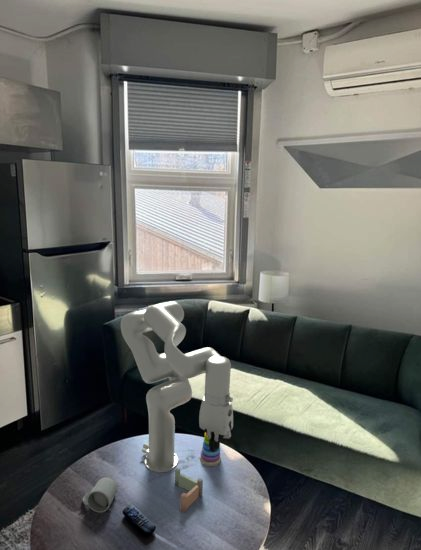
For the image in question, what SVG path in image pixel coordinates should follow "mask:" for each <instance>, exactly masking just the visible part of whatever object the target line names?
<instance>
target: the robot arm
mask: <svg viewBox="0 0 421 550" xmlns="http://www.w3.org/2000/svg"><path fill="white" fill-rule="evenodd" d="M184 317H185V311H184V309H183V307H182V305H181V304H180V303H179V302H177V301H171V300H170V301H167V302H166V301H165V302H160V303H156V304H153V305H152V304H151V306H149V307H147V308H145V309H140V310H134V311H131V312H128V313H127V314H125V315H124V316H123V317H122V319H121V320H120V331H121V335H122V337H123V339H124V341H125V343H126V344H127V345H128V348H129V349H130V350H131V353H132V356H133V358H134V360H135V363H136V366H137V368H138V371H139V373H140V376H141V379H142V380H143V382H144V383H146V384H155V383H158V382H160V381H163V380H166V379H169V381H165V382H163V383H160V384H158V385H156V386H153V387H152V388H150V389H149V390H148V391H147V393H146V395H145V396H146V397H145V401H146V405H147V412H148V443H147V442H144V444H143V445H142V449H141V452H142V453H143V454H145V455H146V456H145V457H144V465H145V467H146V468H147V470H149V471H150V472H152V473H157V474H158V473H159V474H161V473H162V474H163V473H167V472H170V471H172V470H175V469H176V468H177V465H178V463H179V457H178V455H177V453H176V452H175V439H176V438H175V433H176V431H175V430H176V425H175V424H176V421H175V416H174V415H173V414H172V413H171V412H170V411H171V410H172V409H175V408H177V407H179V406H181V405H184V404H186V403H188V402H189V401H190V400H191V399H192V397H193V391H192V385H191V384H190V383H191V382H190V381H189V379H193V378H194V377H197V376H200V375H203V374H205V376H204V377H205V378H204V396H203V397H202V401H201V403H200V409H199V414H198V415H199V416H198V424H199V428H200V429H201V430H203V431H204V433H205V432H206V433H207V435H208V438H209V446H210V449H209V450H210V451H212V452H215V451H216V450H217V449H218V448H219V446H220V447H221V440H222V439H230V438H231V437H232V433H231V430H233V427H234V411H233V404H232V403H233V400H234V398H233V397H231V396H230V395H231V393H230V388H231V387H230V385H231V371H232V370H231V369H232V364H231V361H230V359H229V358H227V357H226V356H222V355H221V354H220V353H219V352H218V351H216V350H215V349H214V348H213V347H210V346H209V347H208V346H207V347H202V348H199V349H195V350H192V351H190V352H186V353H183V352H182V351H181V350H180V349H179V348H178V346H179V344H180V343H181V342H182V341H183V340H184V338H185V336H186V333H187V328H186V327H185V325H184V324H183V323H181V322H183V320H184ZM151 331H153V333H155V334H156V335H157V336H158V337H159V338H160V339H161V341H163V342H164V345H163V346H164V347H163V348H164V349H163V350H164V352H162V353H159V352H157V348H156V346H155V343H154V342H153V341H152V340H151V339H150V338H149V337H148V336H146V335H144V334H143V333H148V332H151Z"/></svg>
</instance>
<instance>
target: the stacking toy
mask: <svg viewBox="0 0 421 550" xmlns="http://www.w3.org/2000/svg"><path fill="white" fill-rule="evenodd" d="M203 437H204V438H203V442H202V448H201V451H200V457H199V460H200V463H202V464H203V465H204V466H207V467H216V466H218V465H219V464H220V463H221V460H222V457H221V445H220V446H219V448H218V449H217V450H216V451H215V452H212V451H210V450H209V449H210V446H209V438H208V435H207V433H206V432H205V431H204V436H203Z"/></svg>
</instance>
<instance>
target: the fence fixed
mask: <svg viewBox="0 0 421 550" xmlns="http://www.w3.org/2000/svg"><path fill="white" fill-rule="evenodd" d="M197 481H198V479H197V480H196V479H195V478H192V477H191V476H188V475H185V474H183V473H181V468H180V467H179V468H177V467H175V468H174V486H176V487H177V486H179V487H180V488H183V489H184V490H187V491H188V492H189V491H190V490H191V489H193V488H194V487H195V486H196V485H197Z"/></svg>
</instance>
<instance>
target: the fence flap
mask: <svg viewBox="0 0 421 550" xmlns="http://www.w3.org/2000/svg"><path fill="white" fill-rule="evenodd" d="M203 486H204V479H203V478H197V485H196V486H195V487H194V488H193V489H191V490H190V491H188V492H187V493H185V492H182V493H181V494H180V512H181V513H185V512H186V511H187V509H188V508H189V507H190V506H191V505H192V504H194V502H195V501H196V500H198V499H199V497H200V498H201V497H202V496H203Z"/></svg>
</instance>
